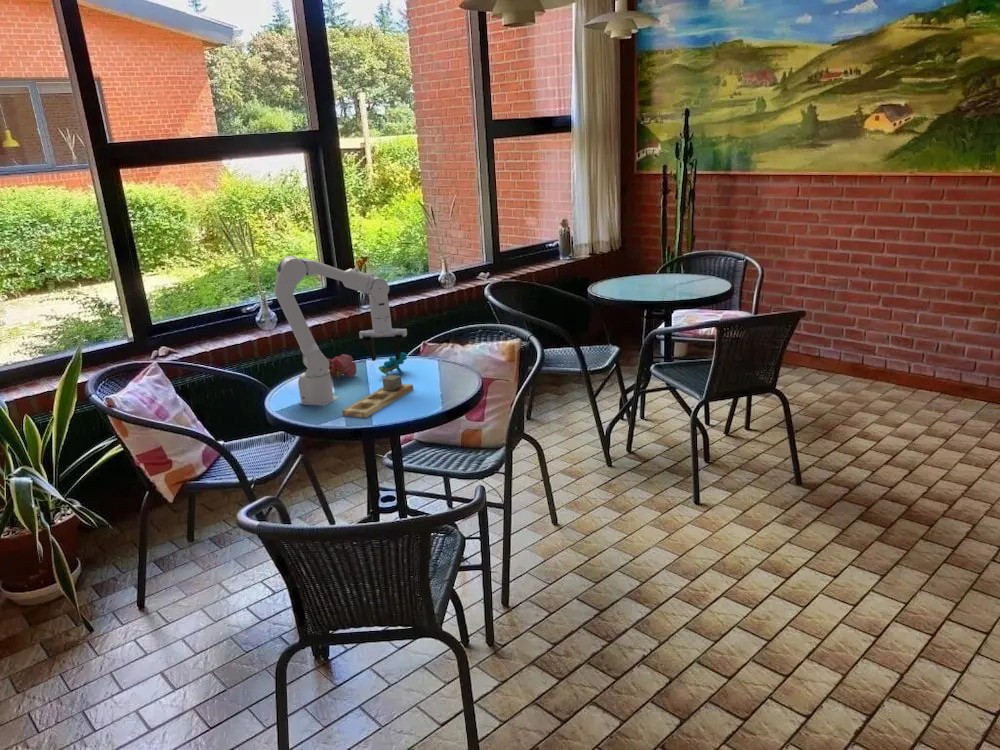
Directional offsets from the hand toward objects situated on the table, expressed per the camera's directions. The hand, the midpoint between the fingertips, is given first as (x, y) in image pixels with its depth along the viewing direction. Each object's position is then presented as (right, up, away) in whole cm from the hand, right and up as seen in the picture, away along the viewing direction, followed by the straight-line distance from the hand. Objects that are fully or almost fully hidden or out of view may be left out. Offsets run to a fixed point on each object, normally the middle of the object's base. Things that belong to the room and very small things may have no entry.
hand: (386, 359), depth 229 cm
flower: (-18, -6, +17) cm, 26 cm away
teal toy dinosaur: (0, -5, +18) cm, 18 cm away
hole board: (0, -13, -10) cm, 17 cm away
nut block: (+3, -10, -4) cm, 11 cm away
